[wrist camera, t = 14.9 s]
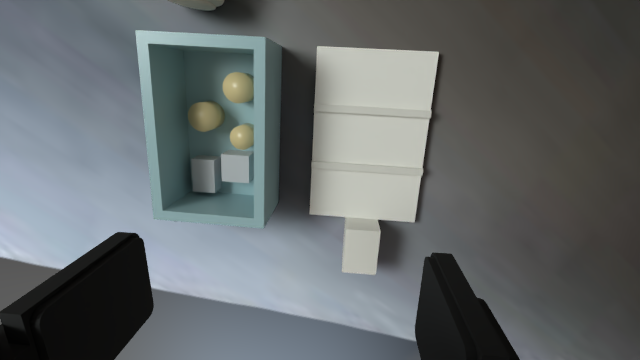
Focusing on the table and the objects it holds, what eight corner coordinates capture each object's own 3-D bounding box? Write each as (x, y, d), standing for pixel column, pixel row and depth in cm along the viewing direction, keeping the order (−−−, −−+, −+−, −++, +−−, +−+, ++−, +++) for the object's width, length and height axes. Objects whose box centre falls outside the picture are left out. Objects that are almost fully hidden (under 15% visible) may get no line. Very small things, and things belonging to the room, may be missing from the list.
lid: (436, 52, 27) (449, 48, 24) (407, 258, 32) (414, 278, 29) (318, 47, 28) (314, 41, 24) (308, 250, 33) (304, 268, 30)
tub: (282, 46, 28) (265, 37, 22) (278, 202, 32) (263, 228, 26) (178, 40, 28) (135, 30, 22) (187, 194, 32) (153, 219, 26)
